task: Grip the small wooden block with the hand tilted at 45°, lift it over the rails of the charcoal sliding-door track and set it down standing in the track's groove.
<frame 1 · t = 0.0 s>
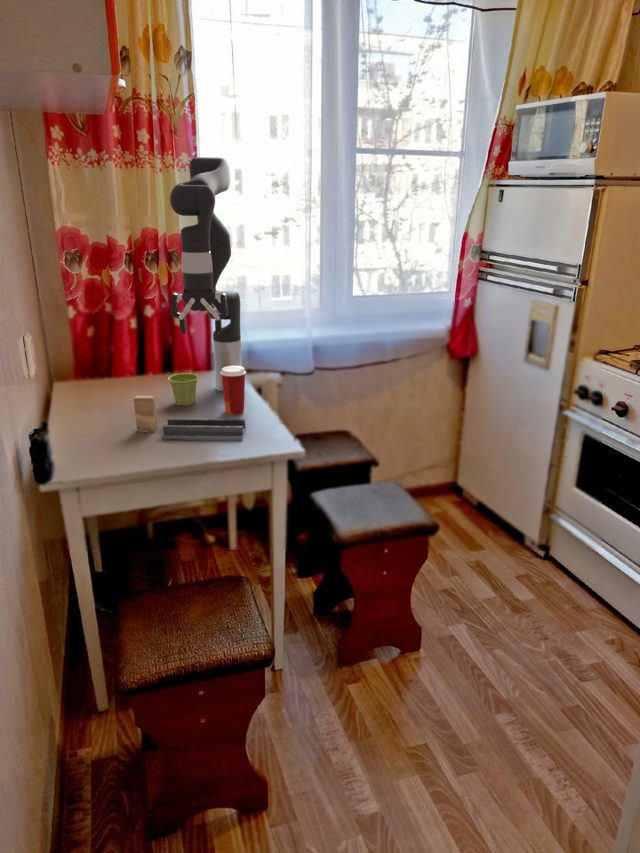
hand: (201, 333, 160), 29 cm above the table, tool pointing down, fingers open, 8 cm apart
door track: (205, 433, 173), on the table
wooden block: (147, 430, 175), on the table
plant pot: (185, 403, 197), on the table
paper cup: (234, 412, 190), on the table
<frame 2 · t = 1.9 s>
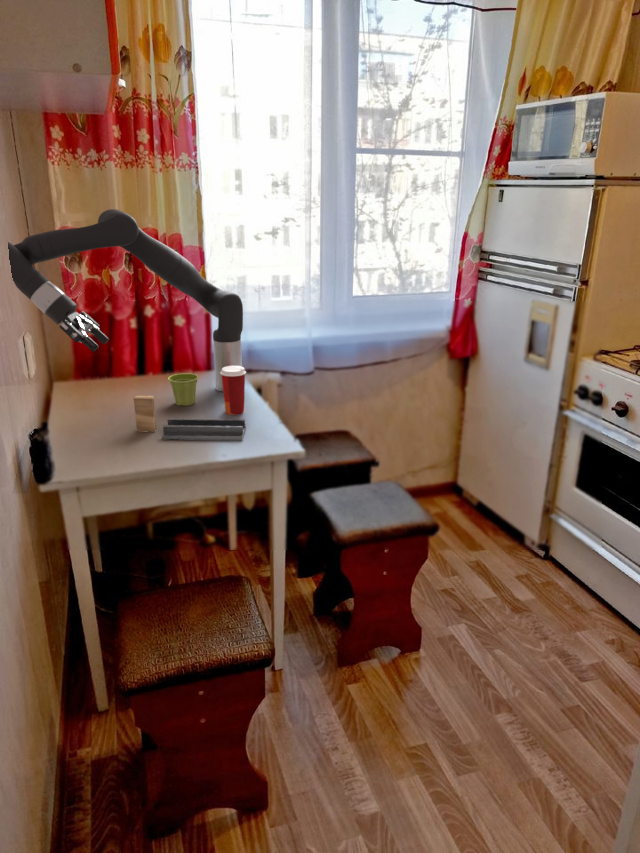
hand: (101, 345, 168), 24 cm above the table, tool tilted 45°, fingers open, 8 cm apart
nothing on the table moved.
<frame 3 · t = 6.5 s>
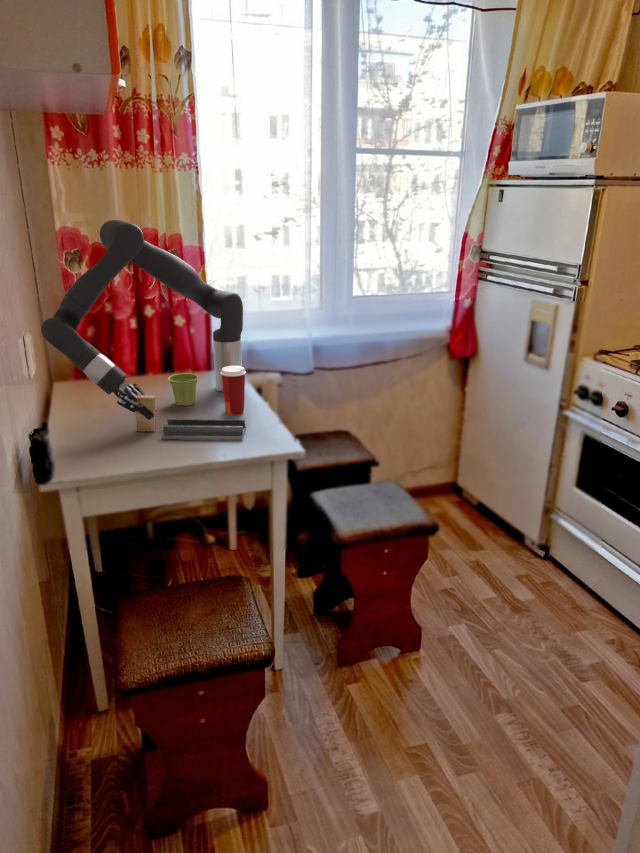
hand: (153, 415, 173), 5 cm above the table, tool tilted 45°, fingers closed on wooden block, 2 cm apart
wooden block: (146, 429, 175), on the table, touching gripper
everything else where it was.
when the fingers open (7 cm above the table, at t = 12.0 s): wooden block drops 1 cm, resting on door track.
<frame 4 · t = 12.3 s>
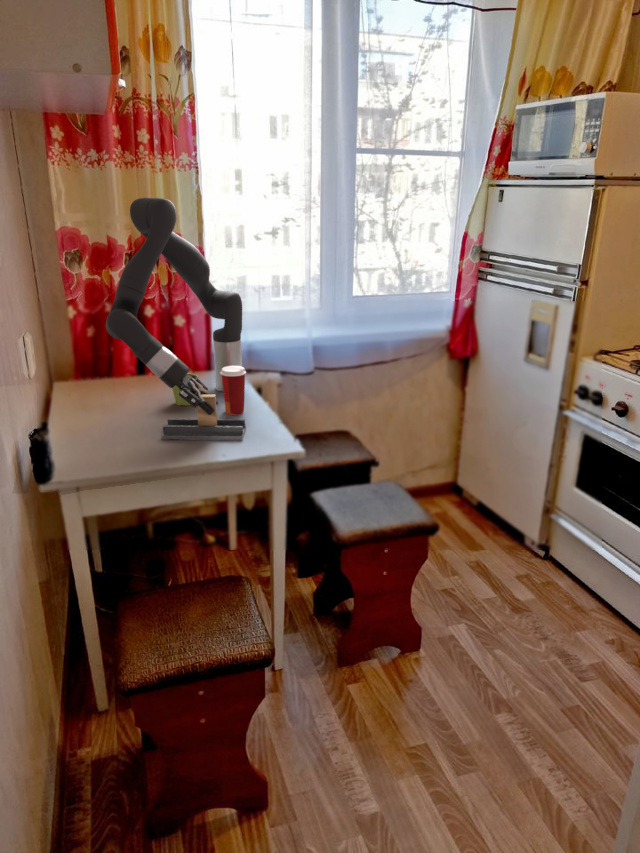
hand: (213, 408, 170), 7 cm above the table, tool tilted 45°, fingers open, 5 cm apart
wooden block: (208, 429, 173), point 1 cm above the table, touching door track
everything else where it was.
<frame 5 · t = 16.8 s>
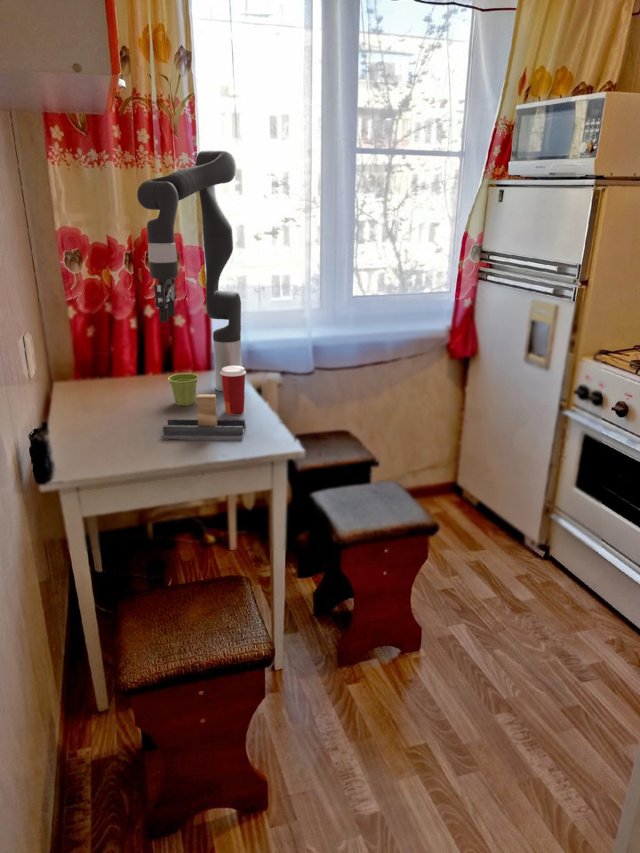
hand: (167, 318, 173), 30 cm above the table, tool pointing down, fingers open, 8 cm apart
nothing on the table moved.
at the end: wooden block inside the target area on the door track (0.8 cm from its centre), point 1.2 cm above the door track's base; wooden block tilted 0°; the gripper is holding nothing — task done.
